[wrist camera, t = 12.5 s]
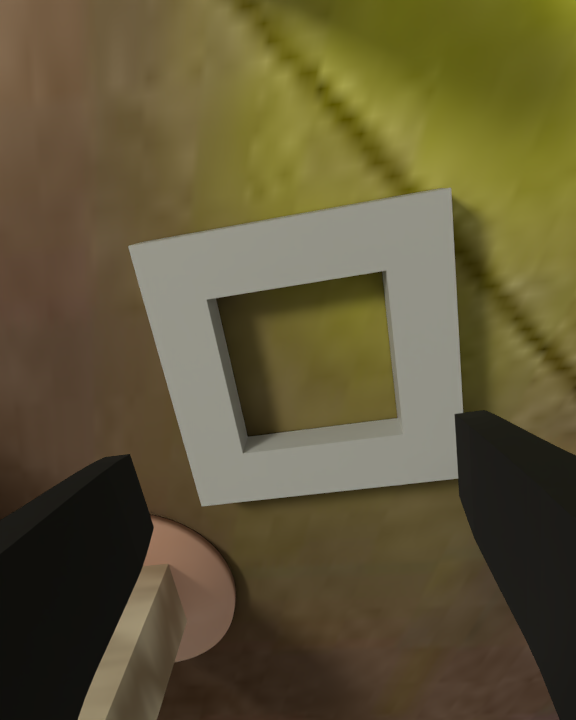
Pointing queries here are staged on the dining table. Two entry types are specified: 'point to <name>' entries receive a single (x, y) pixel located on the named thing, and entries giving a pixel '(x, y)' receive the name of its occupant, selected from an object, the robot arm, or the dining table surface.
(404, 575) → the dining table surface
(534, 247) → the dining table surface
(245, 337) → the dining table surface
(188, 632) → the pink disc
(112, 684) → the maple block
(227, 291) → the grey square frame
